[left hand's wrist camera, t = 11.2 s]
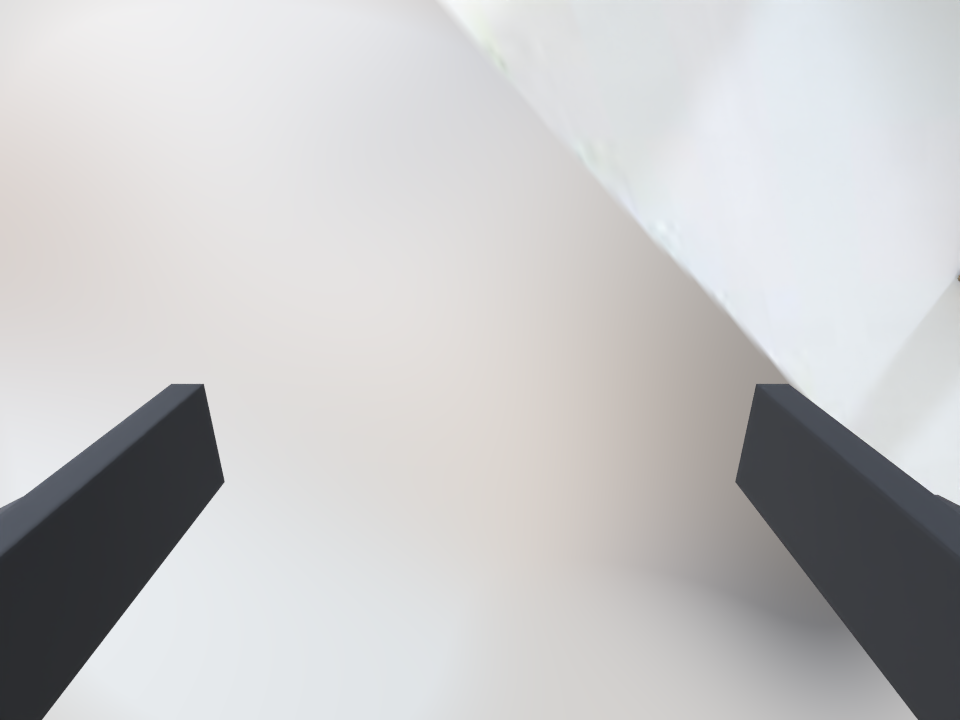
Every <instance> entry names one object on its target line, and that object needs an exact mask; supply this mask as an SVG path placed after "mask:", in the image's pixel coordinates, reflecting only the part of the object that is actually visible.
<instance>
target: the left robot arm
mask: <svg viewBox="0 0 960 720" xmlns="http://www.w3.org/2000/svg"><path fill="white" fill-rule="evenodd" d="M223 483H224V477H223V472H222V468H221V463H220V458H219V454H218V449H217V445H216V440H215V435H214V430H213V425H212V421H211V416H210V411H209V407H208V402H207V397H206V393H205V388H204V384H171V385H170V386H168V387H167V388H166V389H164V390H163V391H162V392H160V393H159V394H158V395H156V396H155V397H154V398H152V399H151V400H150V401H149V402H147V403H146V404H145V405H143V406H142V407H141V408H139V409H138V410H137V411H135V412H134V413H133V414H131V415H130V416H129V417H127V418H126V419H125V420H124V421H122V422H121V423H120V424H118V425H117V426H116V427H114V428H113V429H112V430H110V431H109V432H108V433H106V434H105V435H104V436H103V437H101V438H100V439H99V440H97V441H96V442H95V443H93V444H92V445H91V446H89V447H88V448H87V449H85V450H84V451H83V452H81V453H80V454H79V455H78V456H76V457H75V458H74V459H72V460H71V461H70V462H68V463H67V464H66V465H64V466H63V467H62V468H60V469H59V470H58V471H56V472H55V473H54V474H53V475H51V476H50V477H49V478H47V479H46V480H45V481H43V482H42V483H41V484H39V485H38V486H37V487H35V488H34V489H33V490H32V491H30V492H29V493H28V494H26V495H25V496H24V497H21V498H19V499H17V500H16V501H14V502H12V503H10V504H8V505H6V506H4V507H2V508H0V720H42V719H43V718H44V716H45V715H46V714H47V712H48V711H49V710H50V708H51V707H52V706H53V705H54V703H55V702H56V701H57V699H58V698H59V697H60V695H61V694H62V693H63V691H64V690H65V689H66V688H67V686H68V685H69V684H70V682H71V681H72V680H73V679H74V677H75V676H76V675H77V673H78V672H79V671H80V669H81V668H82V667H83V666H84V664H85V663H86V662H87V660H88V659H89V658H90V656H91V655H92V654H93V653H94V651H95V650H96V649H97V647H98V646H99V645H100V643H101V642H102V641H103V639H104V638H105V637H106V636H107V634H108V633H109V632H110V630H111V629H112V628H113V626H114V625H115V624H116V623H117V621H118V620H119V619H120V617H121V616H122V615H123V613H124V612H125V611H126V610H127V608H128V607H129V606H130V604H131V603H132V602H133V600H134V599H135V598H136V597H137V595H138V594H139V593H140V591H141V590H142V589H143V587H144V586H145V585H146V584H147V582H148V581H149V580H150V578H151V577H152V576H153V574H154V573H155V572H156V570H157V569H158V568H159V567H160V565H161V564H162V563H163V561H164V560H165V559H166V557H167V556H168V555H169V554H170V552H171V551H172V550H173V548H174V547H175V546H176V544H177V543H178V542H179V540H180V539H181V538H182V537H183V535H184V534H185V533H186V531H187V530H188V529H189V528H190V526H191V525H192V524H193V522H194V521H195V520H196V518H197V517H198V516H199V514H200V513H201V512H202V511H203V509H204V508H205V507H206V505H207V504H208V503H209V501H210V500H211V499H212V498H213V496H214V495H215V494H216V492H217V491H218V490H219V488H220V487H221V486H222V484H223ZM736 483H737V484H738V486H739V487H740V488H741V490H742V491H743V492H744V494H745V495H746V496H747V498H748V499H749V500H750V501H751V503H752V504H753V505H754V507H755V508H756V509H757V511H758V512H759V513H760V514H761V516H762V517H763V518H764V520H765V521H766V522H767V524H768V525H769V526H770V528H771V529H772V530H773V531H774V533H775V534H776V535H777V537H778V538H779V539H780V541H781V542H782V543H783V544H784V546H785V547H786V548H787V550H788V551H789V552H790V554H791V555H792V556H793V557H794V559H795V560H796V561H797V563H798V564H799V565H800V566H801V568H802V569H803V570H804V572H805V573H806V574H807V576H808V577H809V578H810V580H811V581H812V582H813V584H814V585H815V586H816V587H817V589H818V590H819V591H820V593H821V594H822V595H823V597H824V598H825V599H826V600H827V602H828V603H829V604H830V606H831V607H832V608H833V610H834V611H835V612H836V613H837V615H838V616H839V617H840V619H841V620H842V621H843V622H844V624H845V625H846V626H847V628H848V629H849V630H850V632H851V633H852V634H853V636H854V637H855V638H856V639H857V641H858V642H859V643H860V645H861V646H862V647H863V649H864V650H865V651H866V652H867V654H868V655H869V656H870V658H871V659H872V660H873V662H874V663H875V664H876V666H877V667H878V668H879V669H880V671H881V672H882V673H883V675H884V676H885V677H886V679H887V680H888V681H889V682H890V684H891V685H892V686H893V688H894V689H895V690H896V692H897V693H898V694H899V695H900V697H901V698H902V699H903V701H904V702H905V703H906V705H907V706H908V707H909V708H910V710H911V711H912V712H913V714H914V715H915V716H916V718H917V719H918V720H960V506H959V505H957V504H955V503H953V502H951V501H949V500H947V499H945V498H943V497H941V496H939V495H934V494H932V493H931V492H930V491H929V490H927V489H926V488H925V487H923V486H922V485H921V484H919V483H918V482H917V481H915V480H914V479H913V478H911V477H910V476H909V475H907V474H906V473H905V472H904V471H902V470H901V469H900V468H898V467H897V466H896V465H894V464H893V463H892V462H890V461H889V460H888V459H886V458H885V457H884V456H883V455H881V454H880V453H879V452H877V451H876V450H875V449H873V448H872V447H871V446H869V445H868V444H867V443H865V442H864V441H863V440H861V439H860V438H859V437H858V436H856V435H855V434H854V433H852V432H851V431H850V430H848V429H847V428H846V427H844V426H843V425H842V424H840V423H839V422H838V421H836V420H835V419H834V418H833V417H831V416H830V415H829V414H827V413H826V412H825V411H823V410H822V409H821V408H819V407H818V406H817V405H815V404H814V403H813V402H812V401H810V400H809V399H808V398H806V397H805V396H804V395H802V394H801V393H800V392H798V391H797V390H796V389H794V388H793V387H792V386H790V385H789V384H756V388H755V393H754V397H753V402H752V407H751V412H750V416H749V421H748V425H747V430H746V435H745V439H744V444H743V449H742V454H741V458H740V463H739V468H738V473H737V477H736Z"/></svg>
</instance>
